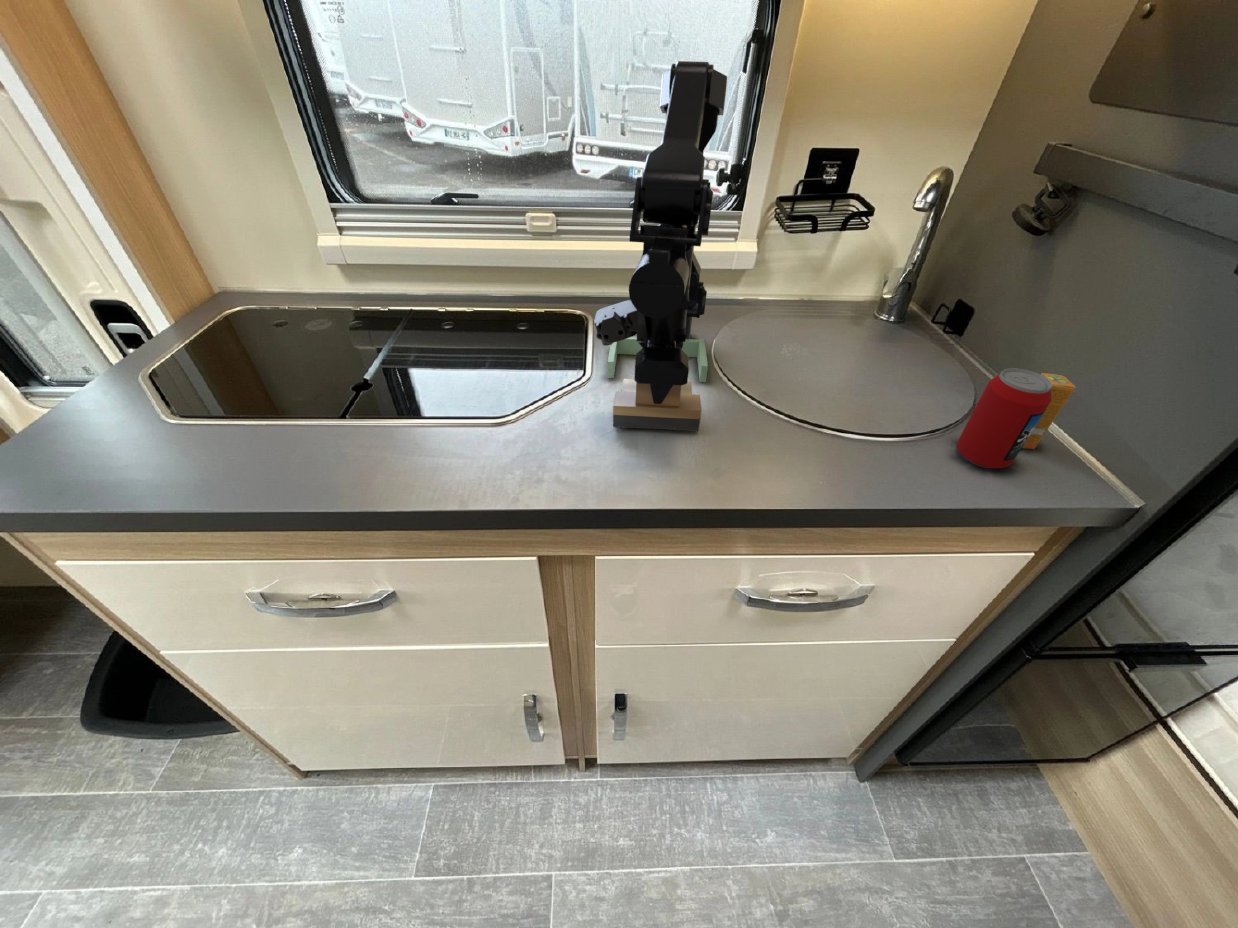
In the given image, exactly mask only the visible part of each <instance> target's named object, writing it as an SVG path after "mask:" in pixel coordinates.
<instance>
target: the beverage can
mask: <svg viewBox="0 0 1238 928" xmlns="http://www.w3.org/2000/svg"><path fill="white" fill-rule="evenodd" d="M1051 388H1052V383H1051V382H1050V381H1049V380H1048V379H1047V378H1046V377H1044V376H1042V375H1041V373H1038V372H1035V371H1032V370H1029V369H1025V368H1017V367H1016V368H1015V367H1010V368H1009V367H1008V368H1005V369H1002V370H1001V371H1000V373H999V374H997V375H995V376H994V377H992V378H991V379H990V380H989V381H988V383H987V384H986V386H985V388H984V389H983V392H982V393H981V396H980V397H979V399H978V401H977V402H976V405H975V407H974V408H973V411H972V412H971V414H970V416H969V418H968V420H967V422H966V424H965V426H964V428H963V430H962V432H961V433H960V436H959V438H958V440H957V442H956V450H957V452H958V453H960V455H961V456H962V457H963V458H964V459H965V460H966V461H968V462H969V463H971V464H973V465H975V466H978V467H980V468H986V469H1005V468H1008V467H1010V466H1011V465H1012V464H1013V463H1014V462H1015V460H1016V458H1017V456H1018V455H1019V453H1020V452H1021V450H1022V449H1023V448H1022V447H1023V445H1024V444H1025V442H1026V441H1027V439H1028V438H1029V436H1030V435H1031V433H1032V431H1033V430H1034V428H1035V426H1036V425H1037V423H1038V422H1039V420H1040V418H1041V417H1042V415H1043V414H1044V412H1045V410H1046V409H1047V407H1048V405H1049V404H1050V402H1051V400H1052V396H1051Z"/></svg>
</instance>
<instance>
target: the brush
mask: <svg viewBox="0 0 1238 928" xmlns="http://www.w3.org/2000/svg"><path fill="white" fill-rule="evenodd" d="M613 397H614V398H613V404H612V405H613V406H612V414H613V415H612V427H613V428H632V429H650V430H672V431H689V432H690V431H691V432H692V431H693V432H699V431H700V424H701V417H702V403H701V395H700V394H693V393H692V394H681V385H673V387H672V388H671V390H670V391H669V393H668V394H667V396H666V398H665V399H664V401H663V402H662V404H654V403H653V398H652V393H651V387H650V384H639V383H637V382H636V392H627V391H622V390H615V391H614V396H613Z"/></svg>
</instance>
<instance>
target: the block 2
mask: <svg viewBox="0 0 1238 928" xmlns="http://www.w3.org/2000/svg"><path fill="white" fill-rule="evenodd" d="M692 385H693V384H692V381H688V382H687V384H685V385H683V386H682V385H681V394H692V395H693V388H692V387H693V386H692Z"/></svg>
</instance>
